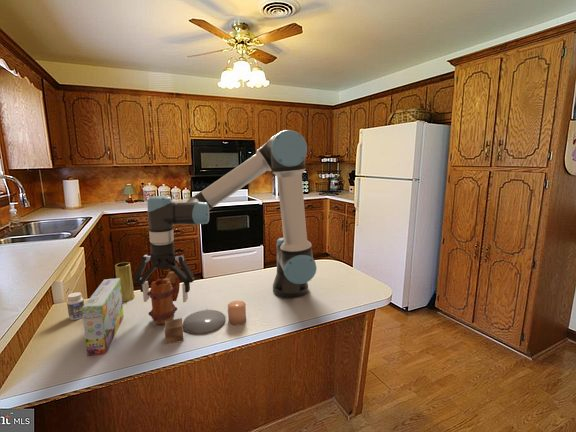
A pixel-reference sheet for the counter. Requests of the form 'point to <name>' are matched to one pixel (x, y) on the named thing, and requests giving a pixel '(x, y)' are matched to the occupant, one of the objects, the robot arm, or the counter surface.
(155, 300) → the mug
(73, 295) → the pill bottle
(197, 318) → the gray ellipsoid
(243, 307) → the peach rounded cylinder
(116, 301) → the snack box
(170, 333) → the walnut block
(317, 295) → the counter surface
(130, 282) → the vase
